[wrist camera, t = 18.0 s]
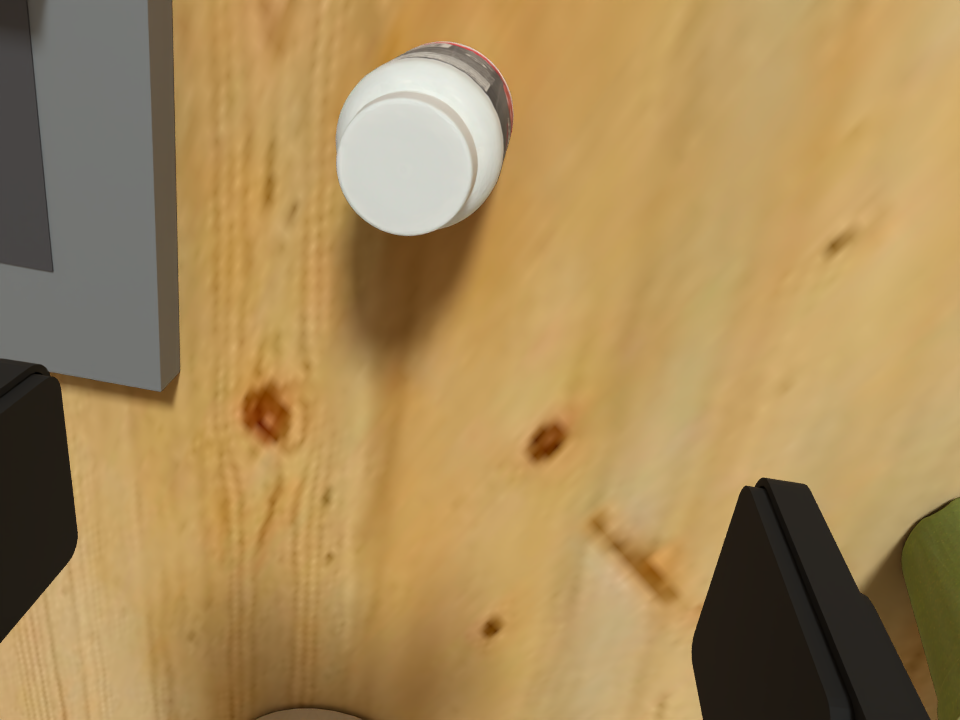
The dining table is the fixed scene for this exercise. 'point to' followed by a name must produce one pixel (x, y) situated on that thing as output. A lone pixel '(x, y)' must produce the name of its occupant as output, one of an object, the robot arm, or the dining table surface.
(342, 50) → the dining table surface
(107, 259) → the switch board
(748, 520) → the robot arm
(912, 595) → the plant pot
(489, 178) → the pill bottle
